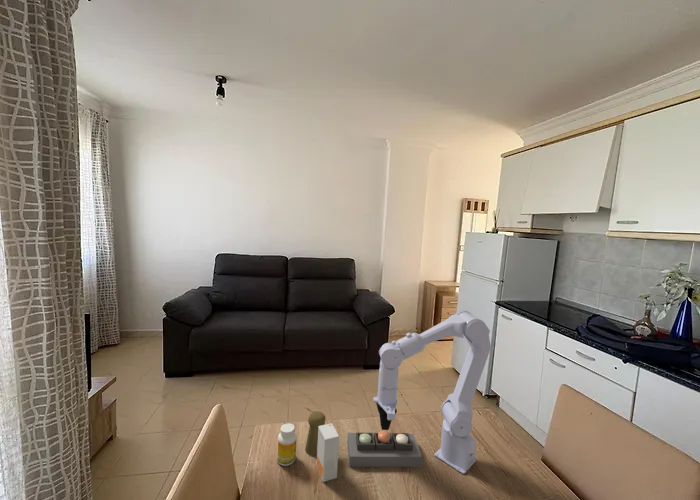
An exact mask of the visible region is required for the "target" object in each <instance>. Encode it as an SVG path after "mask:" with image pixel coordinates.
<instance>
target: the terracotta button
mask: <svg viewBox="0 0 700 500" xmlns="http://www.w3.org/2000/svg"><path fill="white" fill-rule="evenodd" d="M377 433H378V441H379V442H380V443H383V444H387V443H389V442H390V434H389V433H390V432H388V430H380V431H378V432H377Z"/></svg>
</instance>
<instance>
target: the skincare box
mask: <svg viewBox="0 0 700 500" xmlns="http://www.w3.org/2000/svg"><path fill="white" fill-rule="evenodd" d="M339 445H340V436H339V434H338V432H337V429H336V427H335V425H333V423H332V422H331V423H328V424H326V423H325V424H324V425H321V426H318V445H317V456H316V465H315V466H316V468H317V471H318V473H319V475H320V477H321V479H320V480H322V483H325V482H328V481H332V480H335V479H337V478H338V466H339V465H338V463H339V450H340V449H339V448H340V447H339Z"/></svg>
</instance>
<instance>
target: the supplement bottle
mask: <svg viewBox="0 0 700 500" xmlns="http://www.w3.org/2000/svg"><path fill="white" fill-rule="evenodd" d="M279 431H280V432H279V434H278V436H277V442H276V443H277V445H276V462H277V463H278V465H280V466H282V467H283V466H284V467H287V466H290V465H292V464H294V462H295V460H296V458H297V456H296V455H297V438H298V437H297V434H296V432H295V431H296V427H295V425H294V424H292V423H290V422H288V423H284V424H282V425H281V427H280V429H279Z"/></svg>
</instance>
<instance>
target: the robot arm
mask: <svg viewBox="0 0 700 500" xmlns="http://www.w3.org/2000/svg"><path fill="white" fill-rule="evenodd" d="M490 332H491V330H490V328H489V327H488V326H487V324H486V323H485V321H484V320H482V319H480V318H478V317H476V316H475V315H474V314H472V313H471V312H470V311H468V310H461V311H459V312H457V313H454V314H451V315H450V316H449V317H447V319H445V320H442V321H441V322H439V323H438V324H436V325H434V326H432V327H430V328H429V329H427V330H425V331H423V332H421V333H416V332H407V333H406V334H405V335H406V336H405V335H404V337H401V338H399V339H397V340H392V341H391V342H386V343H384V344H382V346H381V347H379V350H378V354H379V357H380V362H379V369H378V380H377V381H378V382H377V383H378V384H377V385H378V386H377V396H374V397H373V398H372V400H373V402H374V403H375V405H376V407H377V411H378V414H379V421H380V427H381V431H389V430H390V427H391V423H392V421H395V420H396V414H397V412H398V410H397V405H398V385H399V383H398V382H399V374H400V373H399V372H400V371H399V367H400V366H401V365H402V362H403V361H405V360H406V359H409V358H411V357H413V356H415V355H417V354H419V353H421V352H424V350H425V348H426V347H425V346H426V345H429V344H432V343H434V342H436V341H439V340H442V339H444V338H447V337H448V336H454V337H458V338H461V339H464V338H465V339H466V341H467V343H468V344H469V348H468V350H467V354H466V356H465V359H464V361H463V365H462V366H461V371H460V373H459V376H458V379H457V381H456V385H455V388H454V391H453V392H452V393H449V394H448V396H447V398H446V399H445V401H443V403H442V404H441V406H440V412H441V415H442V416H443V421H442V426H441V437H440V439H441V440H440V448H439V449H438V450H437V451H436V452H434V456H435V457H436V458H438V459H440V460H441V461H442V462H444V463H445V464H447V465H449V466H450V467H452V468H453V469H454V470H456V471H457V472H460V474H462V475H463V474H466V473H467V472H468V471H469V469H471V467H472V466H473V465H474V464H475V462H476V460H477V459H476V452H477V451H476V449H477V440H476V438H475V437H473V435H471V434H470V433H471V432H472V429H473V423H472V420H473V417H474V415H473V407H472V402H473V399H474V396H475V394H476V390H477V388H478V386H479V382H480V380H481V377H482V374H483V372H484V369H485V365H486V363H487V360H488V357H489V355H490V353H491V352H490V351H491V347H492V346H491V345H492V344H491V340H490Z"/></svg>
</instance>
